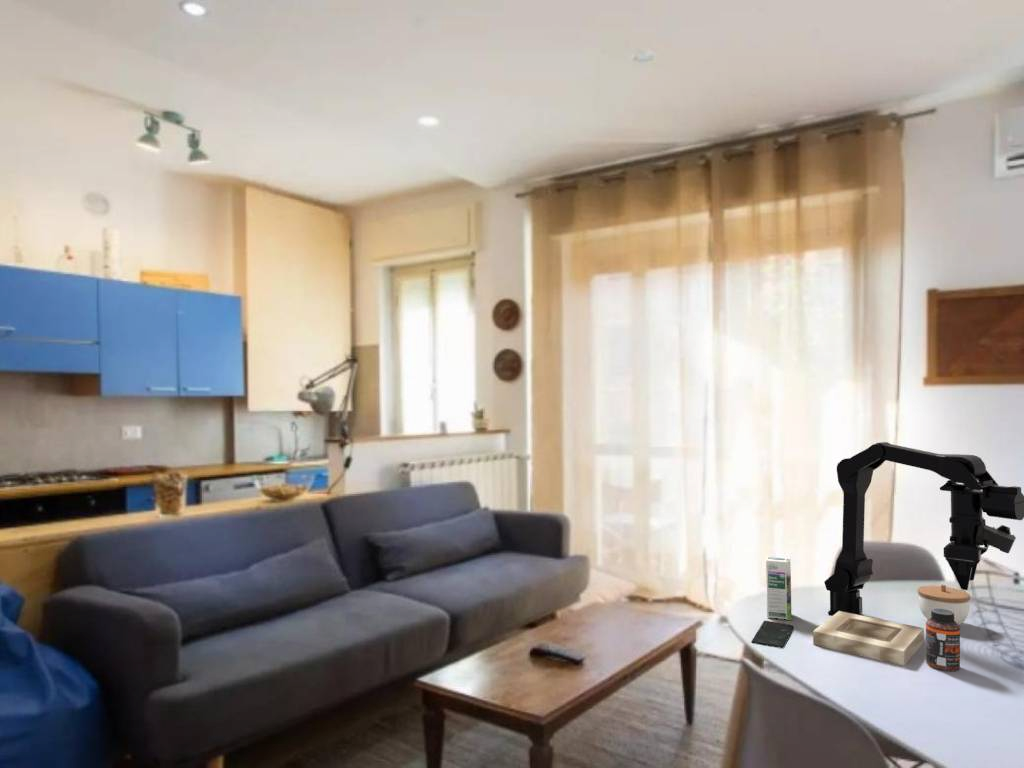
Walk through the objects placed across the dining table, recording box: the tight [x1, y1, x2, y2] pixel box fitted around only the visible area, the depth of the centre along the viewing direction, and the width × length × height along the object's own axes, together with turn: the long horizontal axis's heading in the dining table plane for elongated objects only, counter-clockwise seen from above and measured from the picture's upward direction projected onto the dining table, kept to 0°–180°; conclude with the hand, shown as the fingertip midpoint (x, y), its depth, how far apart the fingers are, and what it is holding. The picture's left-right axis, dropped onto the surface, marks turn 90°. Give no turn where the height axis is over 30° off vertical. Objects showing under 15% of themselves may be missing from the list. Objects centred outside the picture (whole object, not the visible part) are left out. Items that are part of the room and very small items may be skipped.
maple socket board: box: [812, 611, 925, 667], centre depth 152 cm, size 18×18×3 cm
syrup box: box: [765, 555, 792, 621], centre depth 171 cm, size 6×6×14 cm
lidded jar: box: [917, 584, 971, 626], centre depth 164 cm, size 11×11×9 cm
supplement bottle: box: [925, 609, 961, 672], centre depth 139 cm, size 6×6×11 cm
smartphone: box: [751, 620, 794, 649], centre depth 158 cm, size 7×1×15 cm
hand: (967, 584), depth 148 cm, fingers open, 9 cm apart
